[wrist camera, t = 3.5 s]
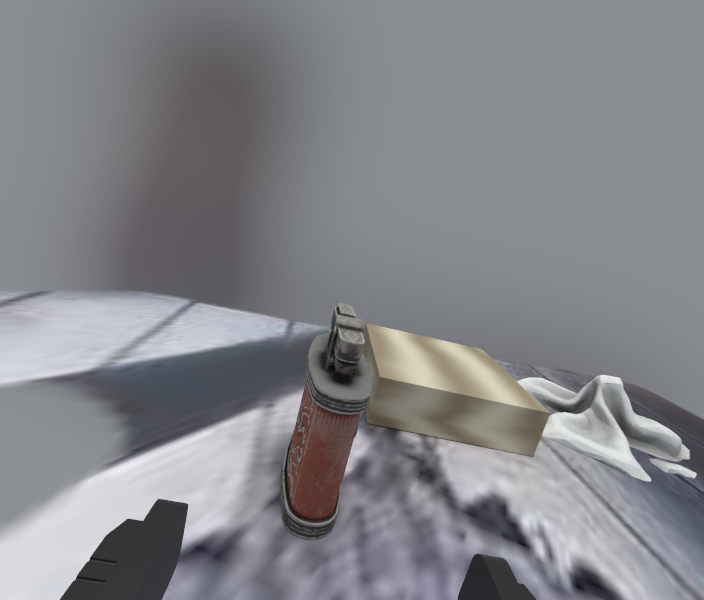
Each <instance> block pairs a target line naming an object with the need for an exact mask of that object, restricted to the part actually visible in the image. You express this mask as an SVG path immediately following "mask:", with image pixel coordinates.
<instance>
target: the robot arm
mask: <svg viewBox="0 0 704 600" xmlns="http://www.w3.org/2000/svg"><path fill="white" fill-rule="evenodd" d="M187 510H188V504H186V503H180V502H174V501H168V500H162V499H158V500H157V501H156V502H155V504H154V505H153V507H152V508H151V510H150V511H149V513H148V514H147V516H146V518H145V519H144V521H139V520H133V519H127V520H126V521H124V522H123V523H122V524H120V525H119V526H118V527H117V528H115V529H114V530H113V531H111V532H110V533H109V534H108V535H106V537H105V538H104V539H103V541H102V542H101V543H100V545H99V546H98V548H97V549H96V550H95V552H94V553H93V555H92V556H91V557H90V560H89V562H87V563H86V564H85V566H84V567H83V568H82V570H81V571H80V572H79V574H78V575H77V578H76V580H75V581H73V582H72V584H71V585H70V586H69V588H68V589H67V590H66V592H65V593H64V595H63V596H62V597H61V599H60V600H162V598H163V595H164V593H165V591H166V589H167V587H168V584H169V582H170V580H171V578H172V575H173V573H174V570H175V568H176V565H177V562H178V558H179V555H180V551H181V546H182V540H183V534H184V528H185V522H186V516H187ZM458 600H536V599H535V597H534V596H533V595H532V594H531V593H530V591H529V590H528V589H527V588H526V586H525V585H524V584H519V583H518V582H517V580H516V578H515V576H514V574H513V572H512V570H511V568H510V566H509V564H508V563H507V561H506V560H505V559H503V558H499V557H493V556H487V555H481V554H476V555H474V557H473V559H472V561H471V564H470V566H469V569H468V572H467V574H466V577H465V579H464V582H463V584H462V587H461V590H460V592H459V595H458Z"/></svg>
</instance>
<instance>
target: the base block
mask: <svg viewBox="0 0 704 600" xmlns="http://www.w3.org/2000/svg"><path fill="white" fill-rule="evenodd" d="M364 340H365V344H364V347H363V351H362V353H363V354H364V356H365V358H366V360H367V362H368V364H369V366H370V371H371V377H372V385H371V394H370V398H369V401H368V405H367V408H366V410H365V412H366V419H367V423H369V424H374V425H379V426H384V427H389V428H394V429H399V430H404V431H409V432H414V433H419V434H424V435H429V436H434V437H439V438H444V439H449V440H454V441H459V442H464V443H469V444H474V445H479V446H484V447H489V448H494V449H499V450H504V451H509V452H514V453H519V454H524V455H529V456H533V455H534V453H535V450H536V448H537V445H538V443H539V440H540V438H541V435H542V433H543V430H544V428H545V426H546V423H547V421H548V418H549V416H550V412H549V411H548V410H547V409H545V408H544V407H543V406H542V405H541V404H540V403H539V402H538V401H537V400H536V399H535V398H534V397H533V396H531V395H530V394H529V393H528V392H527V391H526V390H525V389H524V388H523V387H522V386H521V385H520V384H519V383H517V382H516V381H515V380H514V379H513V378H512V377H511V376H510V375H509V374H508V373H507V372H506V371H504V370H503V369H502V368H501V367H500V366H499V365H498V364H497V363H496V362H495V361H494V360H493V359H492V358H490V357H489V356H488V355H487V354H486V353H485V352H484V351H483V350H482V349H478V348H474V347H469V346H464V345H460V344H456V343H451V342H447V341H442V340H438V339H434V338H429V337H425V336H420V335H415V334H411V333H407V332H402V331H398V330H394V329H389V328H385V327H380V326H376V325H372V324H367V323H366V330H365V339H364Z"/></svg>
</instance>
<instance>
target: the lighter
mask: <svg viewBox="0 0 704 600" xmlns="http://www.w3.org/2000/svg"><path fill="white" fill-rule="evenodd" d="M331 324H332V326H331V329H330V330H329V331H328V332H327V334H326V335H325V334H323V335H318V336H316V338H315V339H314V341H313V342H312V344H311V347H310V351H309V354H308V359H307V363H306V367H305V368H306V383H305V388H304V392H303V396H302V400H301V405H300V409H299V413H298V417H297V422H296V426H295V430H294V432H293V434H292V436H291V438H290V440H289V443H288V446H287V450H286V454H285V458H284V462H283V466H282V470H281V478H280V502H281V511H282V520H283V523H284V525H285V527H286V528H287V529H288V530H289V531H290V532H291V533H292V534H294V535H296V536H298V537H301V538H304V539H319V538H322V537H325V536H326V535H328V534H329V533H330V532H331V530H332V528H333V526H334V523H335V519H336V516H337V512H338V506H339V500H340V495H341V483H342V479H343V475H344V472H345V468H346V464H347V461H348V457H349V454H350V450H351V446H352V443H353V439H354V437H355V436H356V434H357V430H358V426H359V423H360V419H361V416H362V412H364V411H365V410H366V408H367V405H368V401H369V398H370V394H371V385H372V377H371V371H370V366H369V364H368V362H367V360H366V358H365V356H364V354H363V353H362V351H363V347H364V344H365V340H364V339H365V330H366V322H365V320H361V319H357V318H356V315H355V313H354V311H353V308H352V307H351V306H349V305H345V304H339V305H338V306H335V309H334V314H333V318H332V322H331Z"/></svg>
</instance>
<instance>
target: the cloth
mask: <svg viewBox="0 0 704 600" xmlns="http://www.w3.org/2000/svg"><path fill="white" fill-rule="evenodd" d="M517 383H519V384H520V385H521V386H522V387H523V388H524V389H525V390H526V391H527V392H528V393H529V394H530V395H531V396H533V397H534V398H535V399H536V400H537V401H539V402H541V403H543V404H545V405H547V406H549V407H551V408H553V409H555V410H557V411H559V412H561V413H555V414H553V415H550V416H549V418H548V421H547V423H546V426H545V428H544V430H543V433H542V436H544V437H546V438H548V439H551V440H554V441H556V442H558V443H560V444H562V445H565V446H567V447H569V448H571V449H573V450H576V451H578V452H580V453H582V454H584V455H587V456H589V457H591V458H594V459H596V460H599V461H601V462H603V463H605V464H607V465H609V466H611V467H613V468H615V469H618V470H620V471H622V472H624V473H626V474H628V475H630V476H633V477H636V478H639V479H642V480H644V481H648V482H649V481H651V478H650V477H649V476H648V475H647V474H646V473H645V471H644V470H643V469H642V467H641V466H640V465H639V464H638V462H637V461H636V460H635V458H634V457H633V455H632V453H631V451H630V447H633V448H636V449H638V450H641V451H643V452H646V453H648V454H651V455H654V456H657V457H660V458H663V459H667V460H671V461H675V462H677V461H681V460H682V459H689V455H690V454H689V450H688V449H687V448H686V447H685V446H684V445H683V444H682V443H681V439H680V438H679V437H678V436H677V435H676V434H675V433H674V432H672V431H671V430H670V429H668V428H666V427H665V426H663V425H661V424H659V423H657V422H656V421H653V420H650V419H648V418H645V417H642V416H639V415H637V414H635V413H634V412H633V410H632V407H631V404H630V400H629V398H628V396H627V395H626V393H625V391H624V389H623V383H622V381H621V379H620V378H618V377H612V376H607V375H600V376H596V377H595V378H594V379H593V380H592V381H591V382H590V383H588V384H587V385H586V386H585V387H584V388H582V389H581V391H580V392H579V393H578V394H577V393H574V392H572V391H570V390H567V389H565V388H563V387H561V386H558V385H556V384H554V383H552V382H550V381H548V380H545V379H543V378H525V379H521V380H519V381H517ZM649 460H650V461H651V463H653V464H654V465H656V466H657V467H659V468H660V469H662V470H663V471H665V472H666V473H673V474H678V475H682V476H686V477H692V478H695V477H696V475H697V474H696V473H695V472H693V471H691V470H689V469H686V468H684V467H682V466H680V465H677V464H672V463H668V462H664V461H661V460H659V459H649Z"/></svg>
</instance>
